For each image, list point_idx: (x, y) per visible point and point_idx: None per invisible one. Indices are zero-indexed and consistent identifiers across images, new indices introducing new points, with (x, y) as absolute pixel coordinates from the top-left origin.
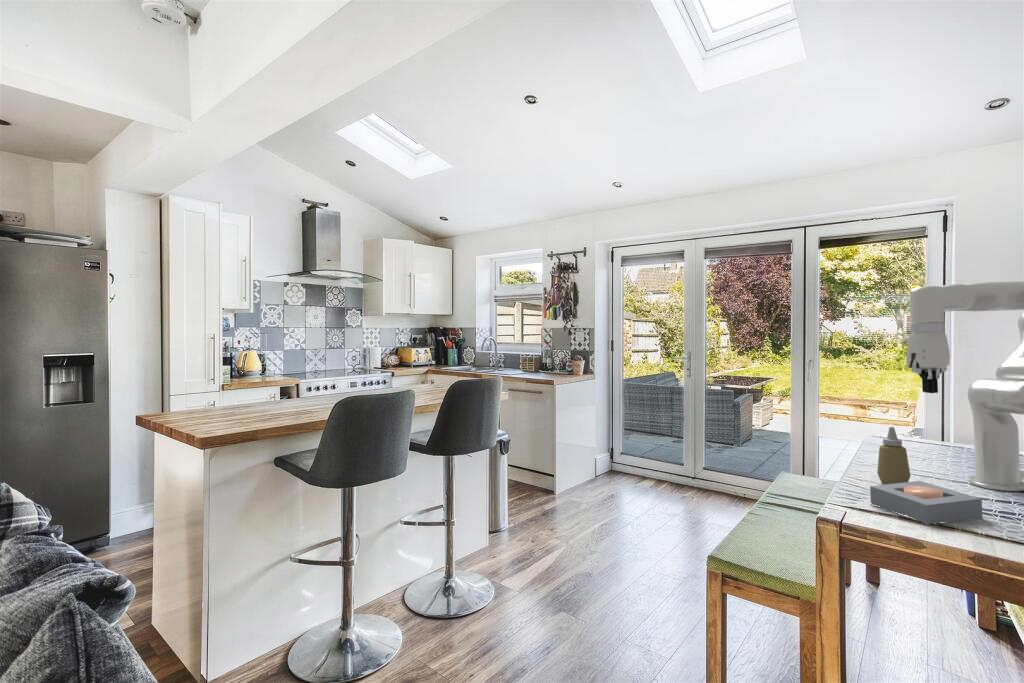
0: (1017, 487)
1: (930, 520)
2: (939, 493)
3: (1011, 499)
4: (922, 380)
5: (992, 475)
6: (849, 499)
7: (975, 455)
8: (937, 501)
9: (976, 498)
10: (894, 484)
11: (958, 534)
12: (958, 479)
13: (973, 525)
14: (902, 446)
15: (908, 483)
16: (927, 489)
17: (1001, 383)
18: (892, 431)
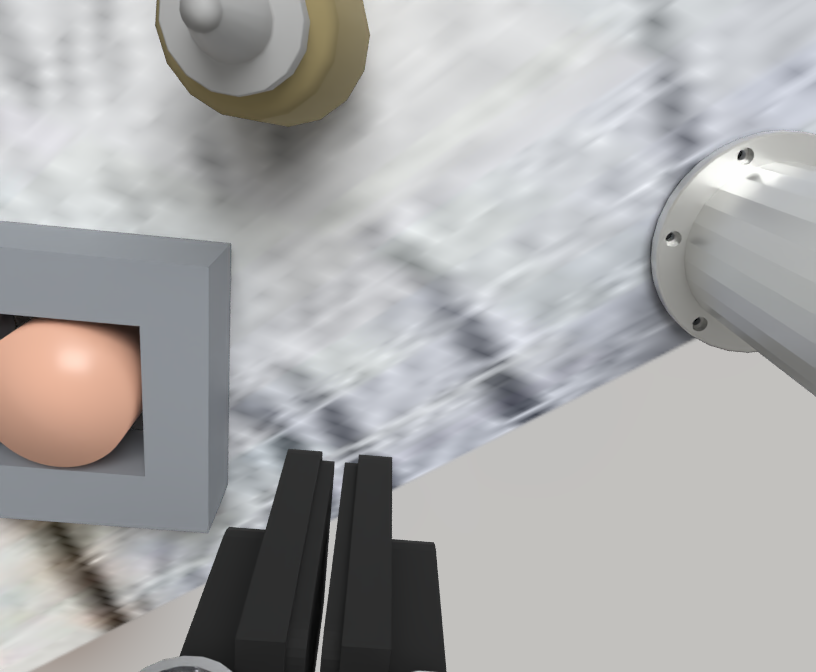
0: (721, 344)
1: None
2: (82, 456)
3: (567, 390)
4: (250, 605)
5: (706, 289)
6: None
7: (790, 217)
8: (3, 499)
9: (191, 524)
10: (24, 263)
11: (7, 544)
12: (725, 91)
13: None
14: (301, 72)
15: (110, 277)
16: (83, 400)
17: None
18: (195, 36)
